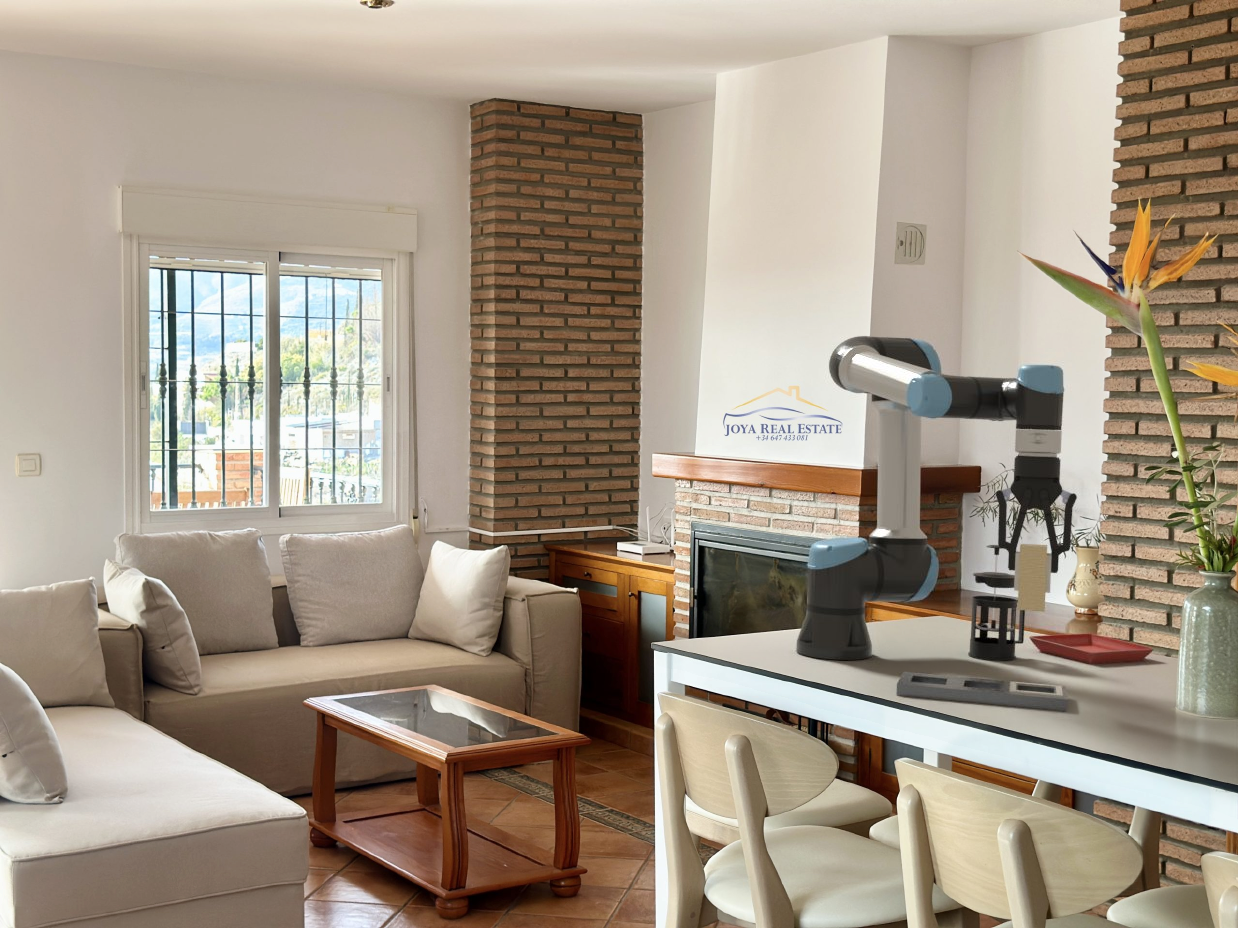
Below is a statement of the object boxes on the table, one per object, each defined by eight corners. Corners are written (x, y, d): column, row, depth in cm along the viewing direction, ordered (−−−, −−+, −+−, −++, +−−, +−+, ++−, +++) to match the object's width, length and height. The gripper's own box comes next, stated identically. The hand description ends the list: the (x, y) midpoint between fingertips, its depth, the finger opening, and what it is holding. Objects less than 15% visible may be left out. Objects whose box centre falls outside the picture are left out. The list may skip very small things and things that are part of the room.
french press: (977, 661, 267) (982, 547, 266) (957, 652, 276) (962, 542, 275) (1031, 661, 269) (1037, 548, 268) (1010, 652, 278) (1015, 543, 277)
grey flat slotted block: (896, 694, 230) (897, 681, 230) (902, 682, 241) (903, 669, 241) (1066, 711, 222) (1067, 697, 222) (1065, 697, 233) (1065, 684, 233)
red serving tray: (1155, 663, 274) (1156, 647, 274) (1090, 667, 266) (1091, 651, 266) (1088, 647, 290) (1089, 632, 290) (1026, 651, 282) (1027, 636, 282)
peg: (1017, 609, 227) (1020, 545, 227) (1018, 606, 231) (1020, 543, 231) (1044, 611, 225) (1047, 546, 225) (1044, 608, 230) (1047, 545, 229)
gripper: (983, 453, 227) (978, 589, 227) (1092, 457, 221) (1086, 596, 222) (986, 453, 234) (980, 585, 234) (1091, 456, 228) (1085, 591, 229)
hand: (1032, 590), depth 228 cm, fingers closed on peg, 4 cm apart
